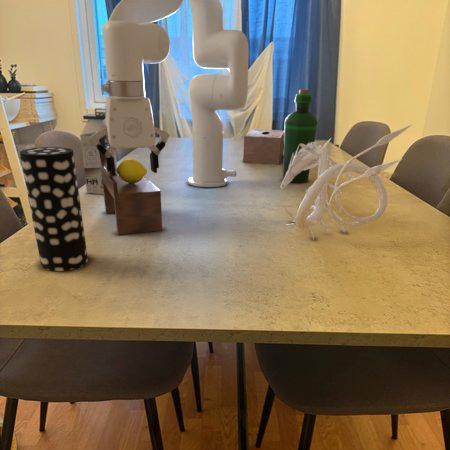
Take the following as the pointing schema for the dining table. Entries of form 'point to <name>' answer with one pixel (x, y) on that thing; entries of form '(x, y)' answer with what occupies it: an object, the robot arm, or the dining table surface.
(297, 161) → the serpentine dragon sculpture
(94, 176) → the coffee box
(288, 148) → the bottle
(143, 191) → the shelf
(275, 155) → the tissue box cover
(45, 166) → the spotted tube
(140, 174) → the lemon
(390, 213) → the dining table surface
